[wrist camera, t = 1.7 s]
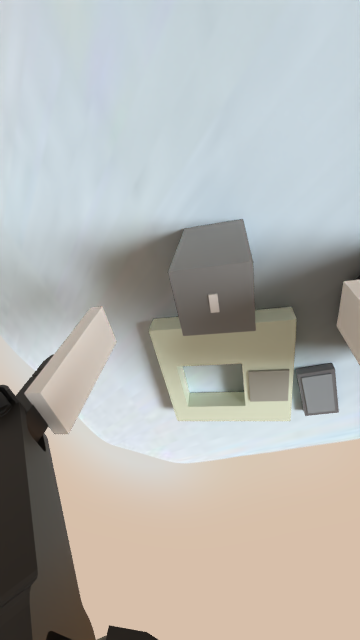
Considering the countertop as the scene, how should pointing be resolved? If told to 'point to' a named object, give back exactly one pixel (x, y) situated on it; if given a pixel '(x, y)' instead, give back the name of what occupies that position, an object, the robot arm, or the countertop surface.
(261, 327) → the outlet plate
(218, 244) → the block
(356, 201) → the countertop surface
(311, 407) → the phone
